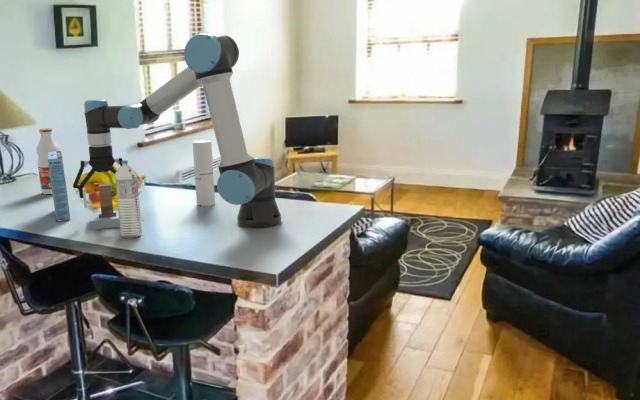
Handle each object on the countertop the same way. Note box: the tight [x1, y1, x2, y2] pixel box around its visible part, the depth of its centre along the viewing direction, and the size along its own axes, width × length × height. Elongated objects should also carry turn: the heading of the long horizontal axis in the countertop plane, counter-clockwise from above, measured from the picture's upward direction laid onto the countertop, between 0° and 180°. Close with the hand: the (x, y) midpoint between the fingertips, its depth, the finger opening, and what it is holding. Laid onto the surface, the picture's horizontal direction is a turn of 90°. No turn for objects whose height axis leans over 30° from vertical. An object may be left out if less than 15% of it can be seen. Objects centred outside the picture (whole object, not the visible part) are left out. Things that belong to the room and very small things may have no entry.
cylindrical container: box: [192, 139, 216, 207], centre depth 236 cm, size 7×7×25 cm
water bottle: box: [114, 159, 143, 239], centre depth 196 cm, size 7×7×25 cm
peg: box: [98, 182, 114, 218], centre depth 212 cm, size 4×4×14 cm
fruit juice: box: [35, 128, 60, 195], centre depth 262 cm, size 9×9×28 cm
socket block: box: [88, 210, 120, 231], centre depth 213 cm, size 12×12×3 cm
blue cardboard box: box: [48, 150, 71, 221], centre depth 224 cm, size 20×5×23 cm, turn 23°
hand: (106, 205), depth 212 cm, fingers open, 13 cm apart
